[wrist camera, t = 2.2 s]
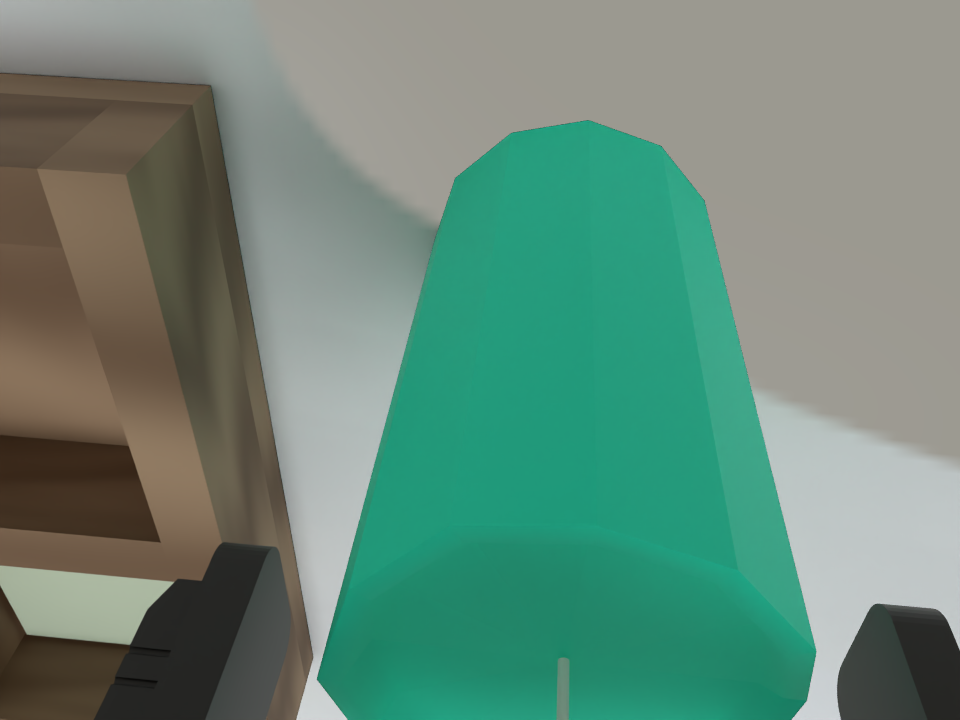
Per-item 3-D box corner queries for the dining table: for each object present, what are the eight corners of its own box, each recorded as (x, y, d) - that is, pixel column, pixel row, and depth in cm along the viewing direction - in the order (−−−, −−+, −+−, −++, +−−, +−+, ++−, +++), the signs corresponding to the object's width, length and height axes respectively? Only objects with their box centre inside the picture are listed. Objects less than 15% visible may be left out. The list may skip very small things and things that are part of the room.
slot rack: (-306, 55, 17) (-501, 133, 14) (210, 85, 17) (125, 174, 14) (13, 628, 30) (-52, 735, 27) (313, 658, 29) (281, 771, 26)
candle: (432, 345, 20) (307, 898, 11) (437, 107, 17) (252, 638, 7) (680, 369, 20) (767, 957, 11) (742, 133, 16) (959, 718, 7)
